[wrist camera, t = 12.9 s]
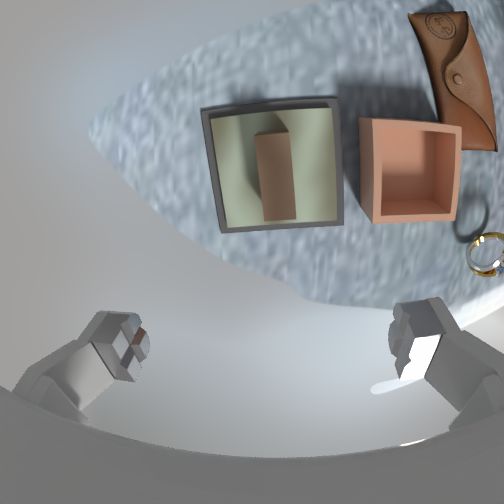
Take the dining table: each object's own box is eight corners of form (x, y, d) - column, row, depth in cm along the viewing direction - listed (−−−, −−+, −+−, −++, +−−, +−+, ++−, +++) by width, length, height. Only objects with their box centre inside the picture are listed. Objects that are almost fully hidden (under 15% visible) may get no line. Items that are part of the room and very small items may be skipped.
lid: (330, 108, 25) (339, 107, 21) (335, 217, 31) (343, 236, 26) (212, 118, 27) (199, 120, 23) (228, 224, 32) (220, 244, 28)
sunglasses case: (401, 9, 18) (449, -2, 12) (429, 17, 20) (471, 11, 14) (441, 158, 26) (490, 165, 20) (462, 146, 28) (504, 152, 22)
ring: (490, 218, 28) (523, 245, 21) (492, 237, 29) (523, 265, 22) (454, 240, 30) (485, 272, 23) (458, 258, 32) (486, 292, 25)
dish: (438, 122, 24) (461, 126, 20) (435, 204, 29) (455, 220, 24) (357, 117, 26) (371, 119, 21) (360, 206, 30) (372, 224, 26)
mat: (337, 98, 25) (338, 98, 25) (343, 223, 31) (343, 225, 31) (202, 111, 27) (201, 111, 27) (221, 232, 33) (221, 233, 33)
